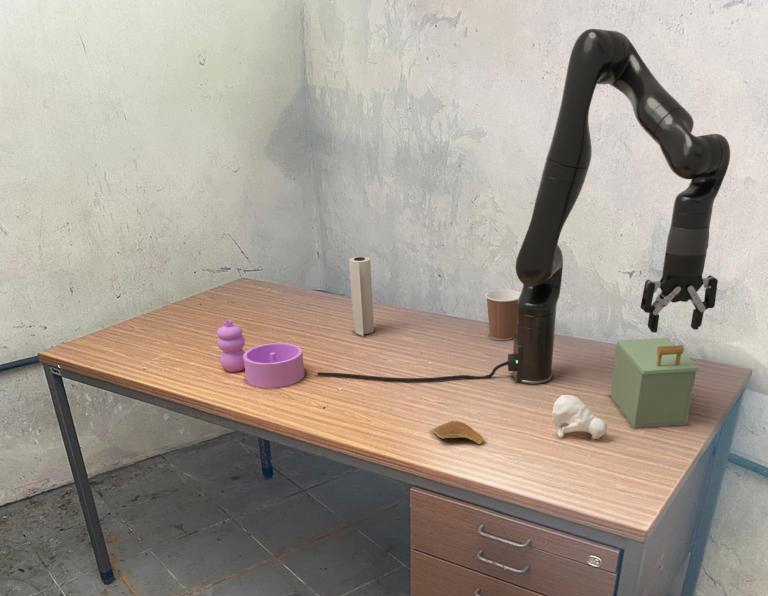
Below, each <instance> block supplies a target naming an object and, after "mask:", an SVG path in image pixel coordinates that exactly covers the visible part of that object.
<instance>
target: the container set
mask: <svg viewBox="0 0 768 596" xmlns="http://www.w3.org/2000/svg"><path fill="white" fill-rule="evenodd" d="M216 335H217V337H218V339H217V340H216V341H217V347H218V348H219V349H220V350H221V351H222V352H221V354H220V356H219V362H220V366H221V367H222V368H223V369H225V370H226V371H227V372H228V373H229V372H230V373H236V372H242V371H243V370H244V372H245V379H246V382H247V383H248V384H249V385H250V386H253V387H256V388H263V389H277V388H284V387H287V386H291V385H294V384H296V383H298V382H300V381H301V380H302V379H304V378H305V374H306V373H305V366H304V365H305V363H304V356H303V349H302V348H301V346H298V345H296V344H292V343H286V342H273V343H265V344H260V345H256V346H253V347H251V348H249V349H247V350H246V351H245V350H244V349H243V348H244V346H245V344H246V339H245V336H243V328H242V327H241V326H239V325H237V324H234V323H233V320H232V319H226V320H224V321H223V325H222V326H220V327H219V328H218V329H217V331H216Z"/></svg>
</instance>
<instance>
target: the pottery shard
mask: <svg viewBox="0 0 768 596" xmlns="http://www.w3.org/2000/svg"><path fill="white" fill-rule="evenodd" d="M432 433H433V434H434V435H436V436H437V437H438V438H441V439H442V440H444V439H455V438H456V439H458V438H465V439H469V440H470V441H473V442H474V443H476V444H479V445H481V444H483V443H484V442H485V440H484V437H483V436H482V435H481V434H480V433H479V432H477V431H476V430H475V429H473V428H472V427H471V426H470V425H468V424H466V423H465V422H463V421H457V420H451V421H448V422H446V423H443V424H441V425H438V426H436V427H434V428H433V429H432Z"/></svg>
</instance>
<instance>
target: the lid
mask: <svg viewBox="0 0 768 596" xmlns="http://www.w3.org/2000/svg"><path fill="white" fill-rule="evenodd" d="M616 345H618V346H619V347H620V348H621V349H622V350H623V351H624V353H625V354H626V355H627V356H628V357H629V358H630V359H631V361H632V362H633V363H634V364H635V365H636V366H637V367H638V369H639V370H640V371H641V372H642V373H643V374H655V373H671V372H687V371H696V372H698V371H699V370H700V367H699V366H698V365H697V364H696V363H695V362H694V361H693V360H692V359H691V358H690V357H688V355H686V354H685V353H684V351H685V350H684V349H685V348H684V345H682V344H679V345H678V344H677V345H676V344H675V343H674V342H673V341H672V340H671V339H670V338H669V337H651V338H637V339H635V338H634V339H619V340H616Z"/></svg>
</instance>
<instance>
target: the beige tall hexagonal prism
mask: <svg viewBox="0 0 768 596" xmlns="http://www.w3.org/2000/svg"><path fill="white" fill-rule="evenodd" d="M348 259H349V260H348V266H349V280H350V281H349V282H350V295H351V309H352V323H353V333H355V334H356V335H358V336H359V335H360V336H362V337H365V335H367V334H368V335H369V334H371V333H373V332H374V331H375V325H374V323H375V322H374V306H373V305H374V303H373V288H372V270H371V269H372V268H371V267H372V266H371V258H370V257H367V256H355V257H351V258H348Z"/></svg>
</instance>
